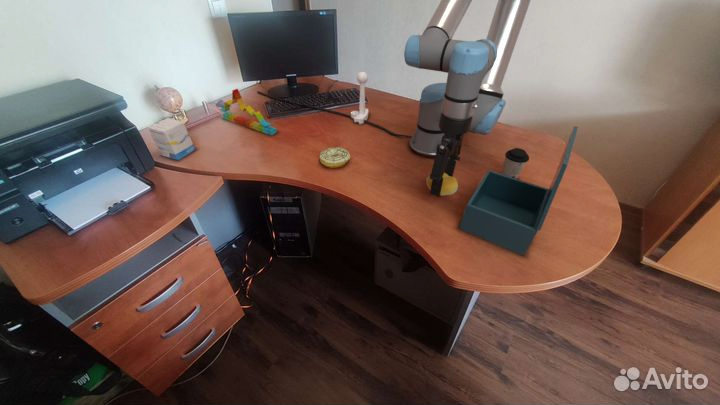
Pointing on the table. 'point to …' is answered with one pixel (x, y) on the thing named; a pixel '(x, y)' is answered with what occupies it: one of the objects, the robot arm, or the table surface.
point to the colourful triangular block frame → (261, 126)
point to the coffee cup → (514, 162)
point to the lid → (557, 177)
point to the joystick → (361, 100)
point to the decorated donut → (334, 157)
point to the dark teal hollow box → (505, 211)
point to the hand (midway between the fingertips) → (441, 186)
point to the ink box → (172, 138)
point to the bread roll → (446, 185)
